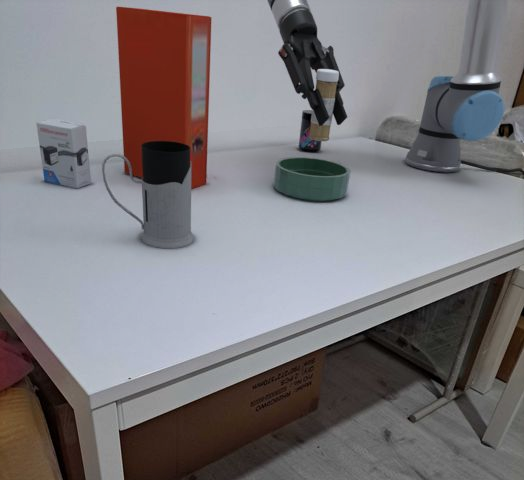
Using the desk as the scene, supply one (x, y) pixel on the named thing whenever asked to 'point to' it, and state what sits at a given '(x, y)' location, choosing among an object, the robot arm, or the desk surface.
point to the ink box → (64, 152)
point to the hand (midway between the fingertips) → (333, 121)
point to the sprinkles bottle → (327, 90)
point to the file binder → (164, 83)
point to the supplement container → (307, 134)
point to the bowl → (311, 178)
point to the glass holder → (163, 193)
